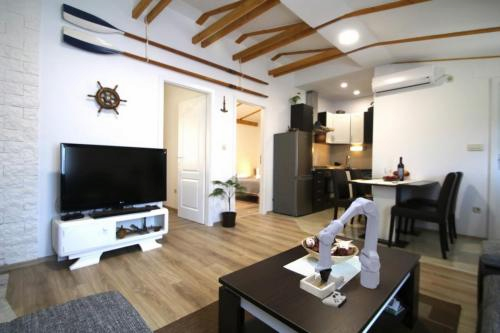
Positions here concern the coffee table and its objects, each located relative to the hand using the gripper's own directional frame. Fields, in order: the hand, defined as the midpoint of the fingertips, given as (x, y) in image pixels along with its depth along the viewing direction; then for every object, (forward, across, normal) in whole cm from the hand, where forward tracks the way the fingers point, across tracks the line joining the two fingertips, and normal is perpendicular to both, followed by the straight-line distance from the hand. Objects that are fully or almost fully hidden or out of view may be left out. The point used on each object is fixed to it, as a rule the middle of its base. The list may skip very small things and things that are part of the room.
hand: (324, 282), depth 114 cm
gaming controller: (+3, +8, +10) cm, 13 cm away
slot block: (+2, -5, 0) cm, 6 cm away
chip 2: (+1, +3, 0) cm, 3 cm away
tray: (+2, +6, 0) cm, 7 cm away
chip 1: (+1, +7, 0) cm, 7 cm away
